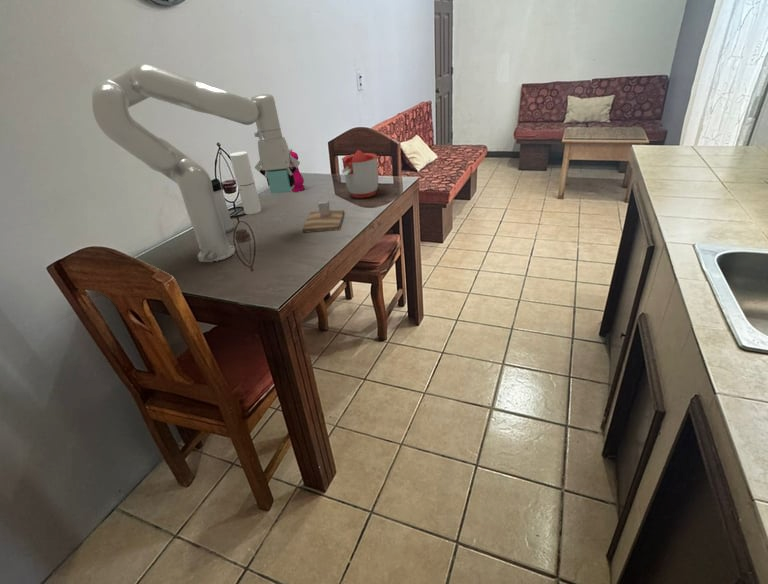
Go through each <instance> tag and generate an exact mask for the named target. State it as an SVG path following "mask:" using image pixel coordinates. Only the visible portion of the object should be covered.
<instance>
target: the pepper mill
mask: <svg viewBox="0 0 768 584" xmlns="http://www.w3.org/2000/svg"><path fill="white" fill-rule="evenodd" d="M289 152H290V155H291V156H292V157H293V158H295V159H296V160H298V161H299V155H298V153H297V152H295V151H293V148H289ZM294 165H295V164H294V163H293V162H292V164H291V165H290V166H291V168H293V167H294ZM293 175H294V180H295V183H294V187H293V189H292V190H291V192H293V193H299V192H298V191H300V192H302V191H305V185H304V184H305V183H304V182H305V179H304V177H303V175H302V173H301V172H300V169H299V166H298V167H297V169H296V170H295V172H294V173H293Z"/></svg>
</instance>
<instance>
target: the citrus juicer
mask: <svg viewBox="0 0 768 584" xmlns="http://www.w3.org/2000/svg"><path fill="white" fill-rule="evenodd" d="M377 157H378V154H375V153H371V152H363V151H361V150H360V149H358V150H356V151H355V153H353V154H349V155H345V156H344V157H343V156H342V159H341V161H342V166H343V169H342V170H341V172H342V173H341V174H343V175H344V179H345V180H344V181H345V185H346V188H347V190H348V193H349V195H350V196H351V198H355V199H365V198H364V197H366V198H369V197H373V196H375V195H376V194H377V191H378V187H379V169H378V168H379V167H378V158H377Z"/></svg>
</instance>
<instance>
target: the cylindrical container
mask: <svg viewBox="0 0 768 584" xmlns="http://www.w3.org/2000/svg"><path fill="white" fill-rule="evenodd" d="M229 159H230V162H231V166H232V169H233V170H232V171H233V173H234V176H235V177H234V178H235V180H236V185H237V188H238V192H239V196H240V200H241V203H242V208H243V211H244V214H245V215H246V214H247V215H255V214H258V213H260V212H261V211H262V207H261V204H260V200H259V199H260V198H259V195H258V190H257V186H256V182H255V178H254V174H253V172H252V166H251V163H250V159H249V154H248V152H247V151H236V152H232V153H230V154H229Z"/></svg>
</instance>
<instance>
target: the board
mask: <svg viewBox="0 0 768 584" xmlns="http://www.w3.org/2000/svg"><path fill="white" fill-rule="evenodd" d="M343 215H345V209H335V210H333V209H332V210H330V216H328V217H320V211H319V210H318V211H310V213H309V215H308V216H307V219H306V220H305V222H304V225H303V226H302V233H308V232H307V231H316V232H319V231H318V230H329V229H339V228H340V229H341V227H340V225H341V226H342V223H343V220H342V218H343V219H344V216H343ZM341 222H342V223H341Z"/></svg>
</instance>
